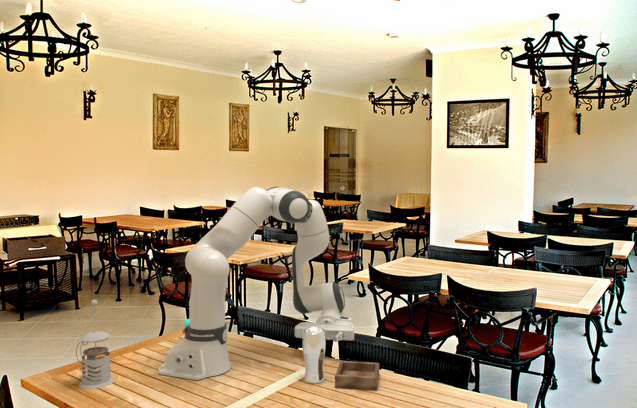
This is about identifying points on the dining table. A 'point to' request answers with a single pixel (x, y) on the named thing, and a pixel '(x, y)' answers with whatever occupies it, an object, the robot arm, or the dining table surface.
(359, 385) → the walnut tray
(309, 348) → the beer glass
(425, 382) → the dining table surface
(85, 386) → the french press
